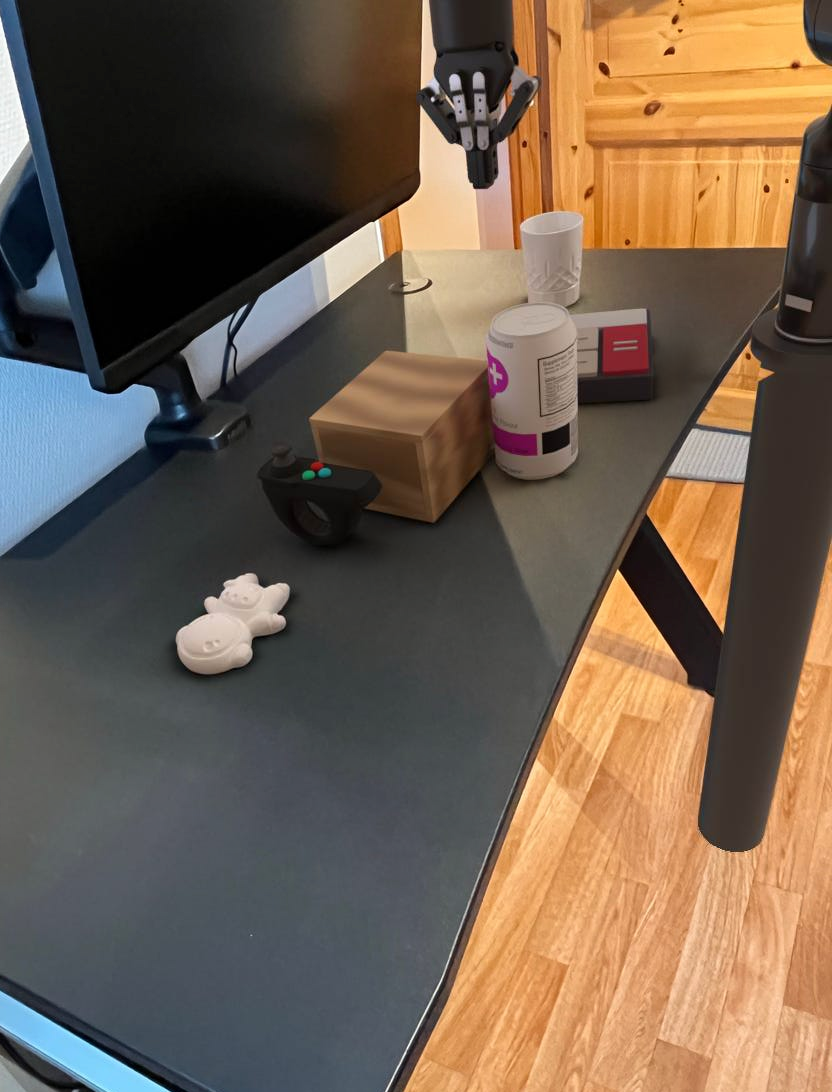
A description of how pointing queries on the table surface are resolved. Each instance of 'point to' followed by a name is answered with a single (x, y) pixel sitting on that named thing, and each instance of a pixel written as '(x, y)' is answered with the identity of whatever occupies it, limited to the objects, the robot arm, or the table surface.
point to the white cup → (552, 256)
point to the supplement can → (533, 389)
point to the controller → (316, 495)
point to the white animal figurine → (232, 625)
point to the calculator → (614, 356)
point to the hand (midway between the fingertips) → (484, 186)
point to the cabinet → (411, 429)
